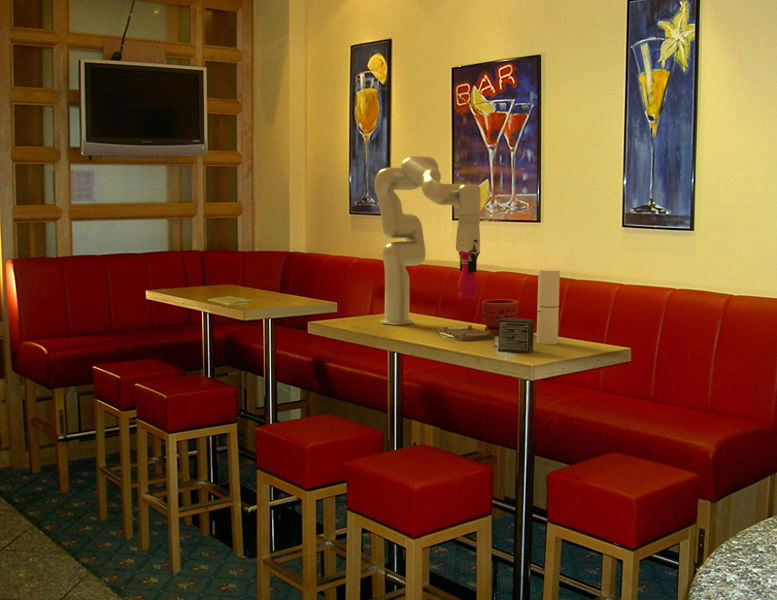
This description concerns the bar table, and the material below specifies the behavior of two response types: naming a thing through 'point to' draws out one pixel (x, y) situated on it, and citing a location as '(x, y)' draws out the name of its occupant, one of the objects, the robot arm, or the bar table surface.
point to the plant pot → (498, 313)
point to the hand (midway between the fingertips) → (468, 271)
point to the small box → (516, 335)
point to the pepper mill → (467, 279)
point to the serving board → (468, 334)
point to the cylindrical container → (548, 306)
